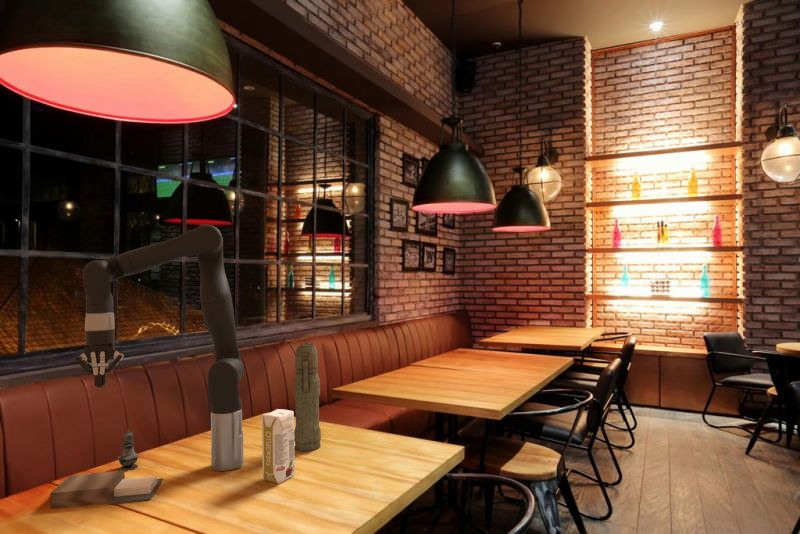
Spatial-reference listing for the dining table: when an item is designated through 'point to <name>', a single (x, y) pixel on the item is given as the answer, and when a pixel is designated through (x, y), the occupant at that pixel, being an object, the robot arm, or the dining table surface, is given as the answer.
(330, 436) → the dining table surface
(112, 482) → the block
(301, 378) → the thermos
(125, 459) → the salt shaker
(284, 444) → the juice carton
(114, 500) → the mat
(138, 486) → the tile
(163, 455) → the dining table surface
